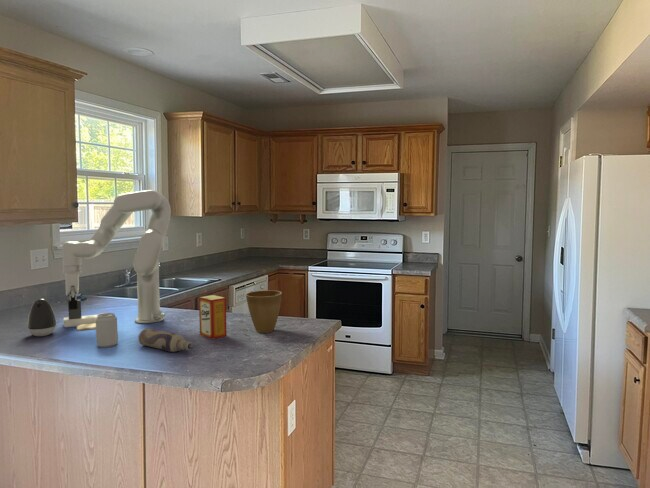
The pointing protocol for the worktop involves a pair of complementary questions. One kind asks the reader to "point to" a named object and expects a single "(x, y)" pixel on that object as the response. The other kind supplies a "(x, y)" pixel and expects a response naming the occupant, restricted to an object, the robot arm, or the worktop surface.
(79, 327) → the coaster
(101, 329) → the can
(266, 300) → the plant pot
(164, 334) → the decorative bottle
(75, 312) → the charger
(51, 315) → the dark egg-shaped diffuser
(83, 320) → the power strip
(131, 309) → the worktop surface
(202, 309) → the baking soda box
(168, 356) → the worktop surface
